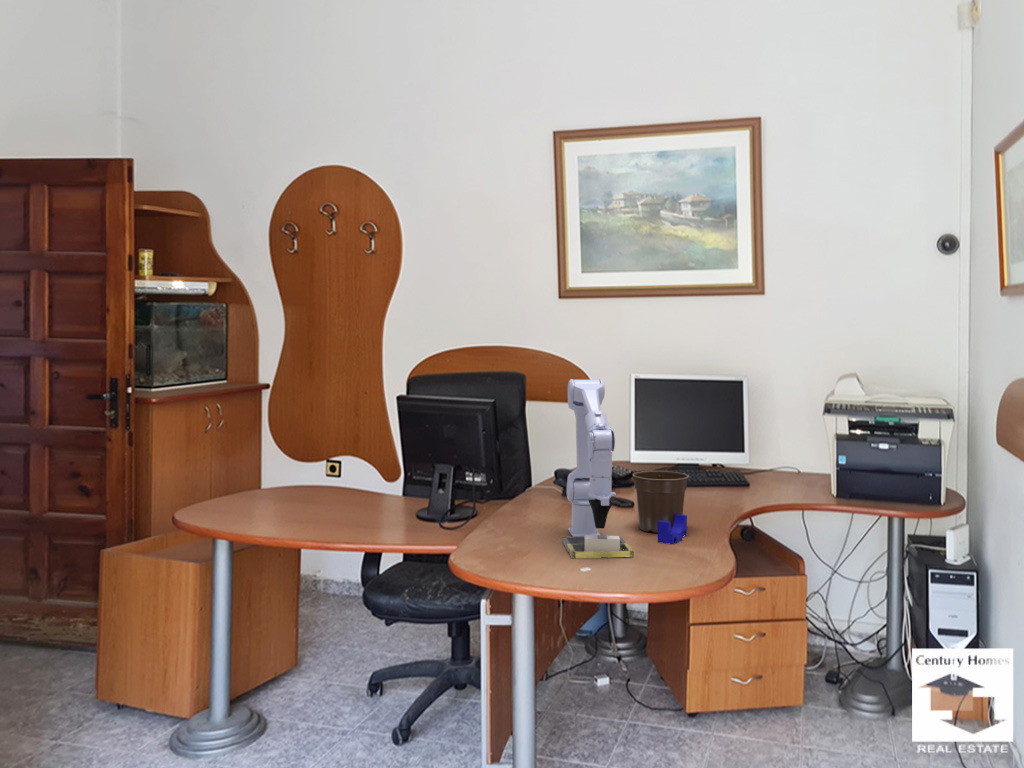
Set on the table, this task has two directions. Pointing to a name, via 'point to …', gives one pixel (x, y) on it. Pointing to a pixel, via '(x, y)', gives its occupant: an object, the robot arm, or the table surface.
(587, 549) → the white banded pillar
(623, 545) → the rack
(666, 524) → the cable clip
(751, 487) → the table surface
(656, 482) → the plant pot
